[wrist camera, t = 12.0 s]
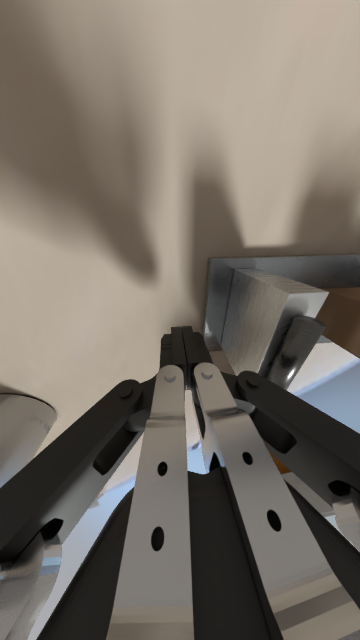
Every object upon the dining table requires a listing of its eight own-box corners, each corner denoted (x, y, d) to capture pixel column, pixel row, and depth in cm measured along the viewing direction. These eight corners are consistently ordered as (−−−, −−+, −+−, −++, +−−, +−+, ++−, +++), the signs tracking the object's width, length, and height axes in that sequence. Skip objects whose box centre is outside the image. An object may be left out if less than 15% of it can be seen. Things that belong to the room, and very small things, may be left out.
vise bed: (201, 347, 17) (220, 404, 11) (208, 257, 12) (251, 277, 6) (344, 337, 18) (428, 383, 12) (406, 252, 13) (600, 264, 7)
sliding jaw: (220, 346, 16) (255, 414, 10) (234, 269, 12) (313, 304, 5) (237, 344, 16) (283, 411, 10) (257, 268, 12) (360, 302, 6)
